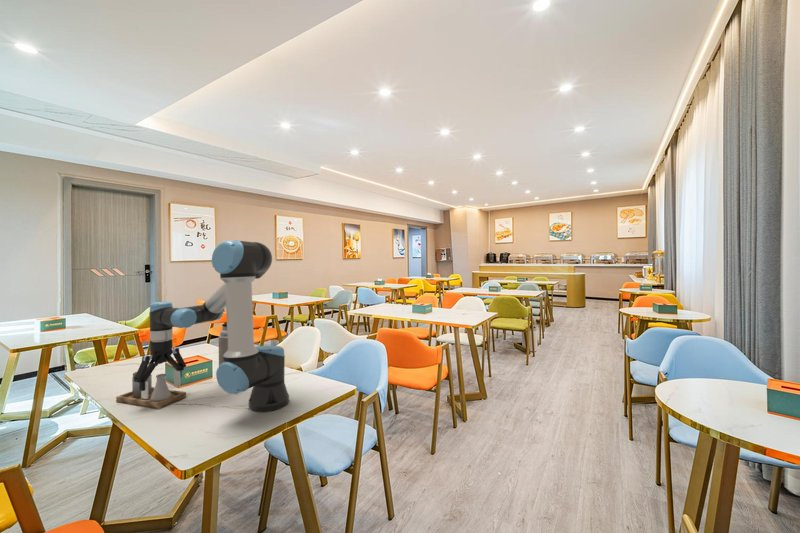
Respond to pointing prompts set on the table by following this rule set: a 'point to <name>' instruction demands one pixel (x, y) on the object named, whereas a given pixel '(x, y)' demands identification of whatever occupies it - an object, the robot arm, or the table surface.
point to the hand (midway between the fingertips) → (161, 391)
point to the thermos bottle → (223, 343)
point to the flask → (160, 390)
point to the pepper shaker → (135, 387)
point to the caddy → (150, 404)
